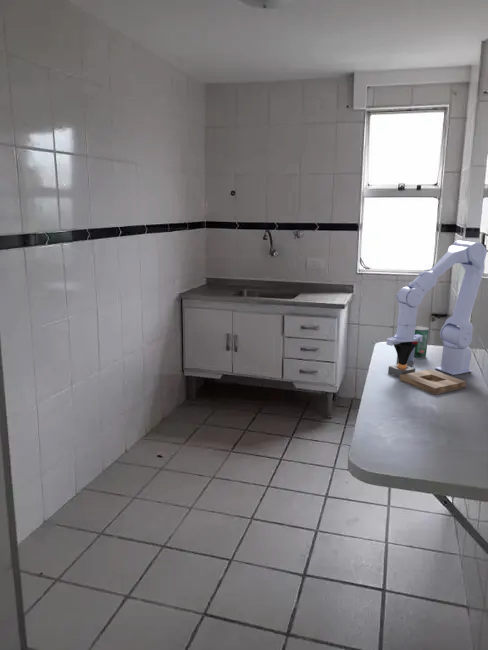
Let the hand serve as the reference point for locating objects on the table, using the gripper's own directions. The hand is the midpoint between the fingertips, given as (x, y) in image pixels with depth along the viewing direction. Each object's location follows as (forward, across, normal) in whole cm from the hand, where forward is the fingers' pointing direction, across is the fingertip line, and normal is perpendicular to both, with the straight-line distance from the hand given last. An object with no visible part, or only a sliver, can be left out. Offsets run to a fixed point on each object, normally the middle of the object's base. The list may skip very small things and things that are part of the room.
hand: (402, 364), depth 183 cm
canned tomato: (+4, -22, -14) cm, 27 cm away
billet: (+4, -8, -6) cm, 11 cm away
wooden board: (+4, -2, +12) cm, 12 cm away
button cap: (+2, 0, 0) cm, 2 cm away
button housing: (+4, 0, 0) cm, 4 cm away
